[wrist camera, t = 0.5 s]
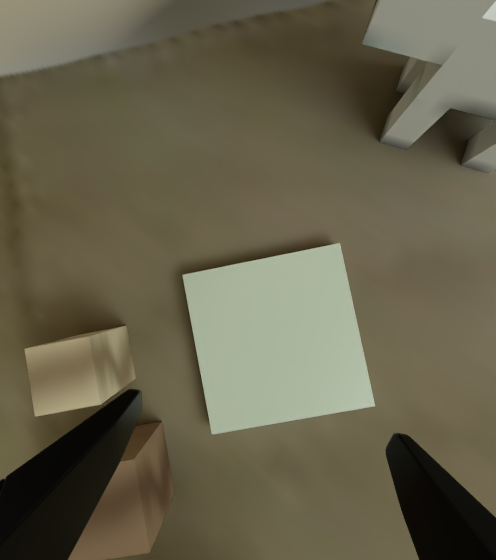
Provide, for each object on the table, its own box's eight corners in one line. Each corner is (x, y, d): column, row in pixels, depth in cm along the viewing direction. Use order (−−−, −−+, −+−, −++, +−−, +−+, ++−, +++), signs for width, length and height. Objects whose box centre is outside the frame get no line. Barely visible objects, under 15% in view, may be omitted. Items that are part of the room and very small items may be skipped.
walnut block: (175, 491, 22) (149, 552, 17) (107, 502, 22) (62, 566, 17) (162, 420, 22) (134, 459, 17) (95, 432, 22) (48, 474, 17)
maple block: (136, 378, 22) (100, 404, 17) (85, 387, 22) (35, 416, 17) (126, 325, 22) (88, 336, 17) (76, 335, 22) (24, 348, 17)
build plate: (368, 399, 21) (375, 406, 20) (214, 426, 21) (211, 434, 20) (335, 245, 22) (339, 243, 20) (186, 275, 22) (182, 274, 21)
